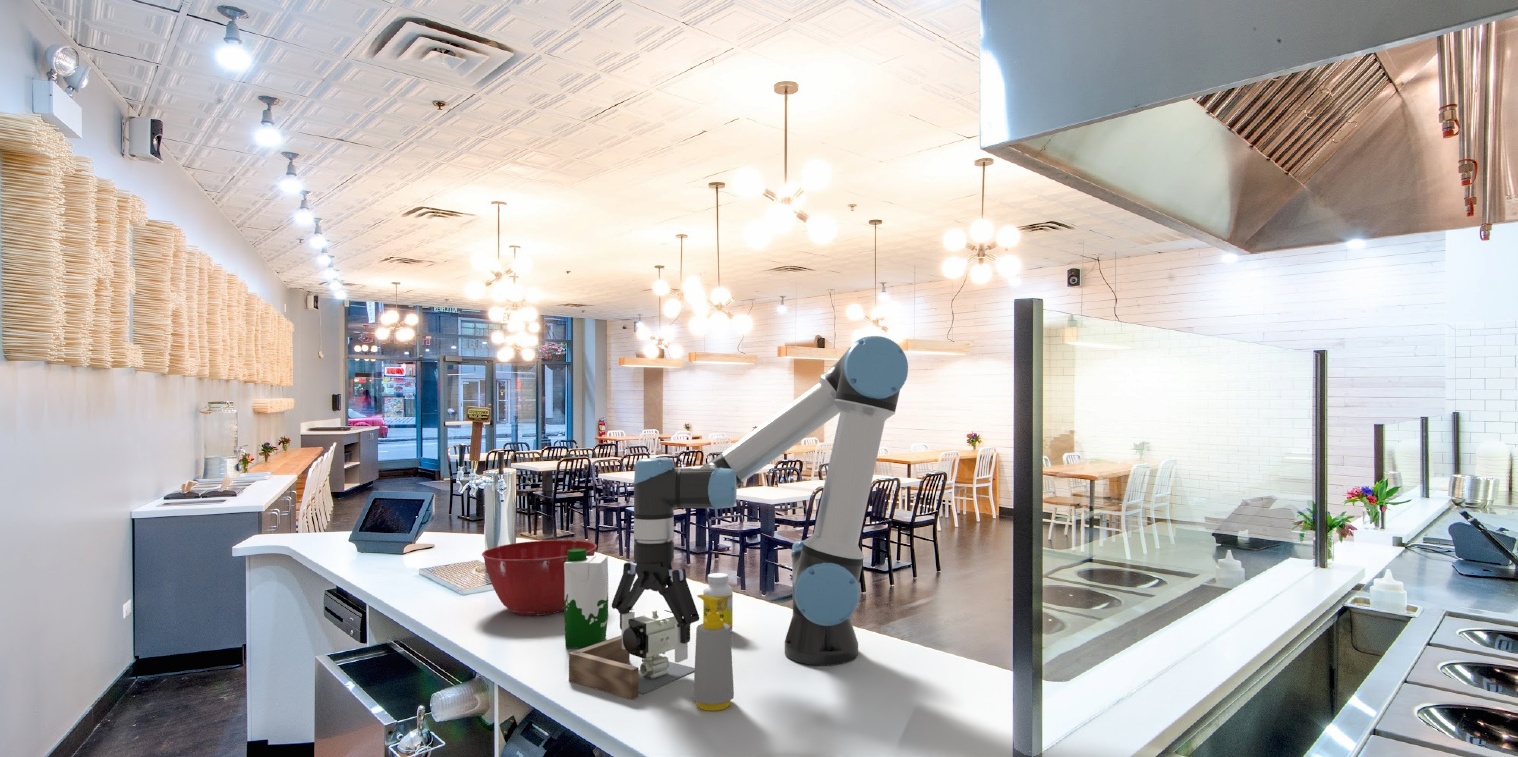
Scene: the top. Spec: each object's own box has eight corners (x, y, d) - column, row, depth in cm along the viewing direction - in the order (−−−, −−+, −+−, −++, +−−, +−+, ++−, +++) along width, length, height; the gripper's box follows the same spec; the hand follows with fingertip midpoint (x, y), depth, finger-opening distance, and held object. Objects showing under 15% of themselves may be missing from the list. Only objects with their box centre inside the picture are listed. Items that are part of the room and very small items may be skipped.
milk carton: (570, 636, 161) (571, 546, 162) (611, 636, 161) (611, 545, 162) (559, 649, 152) (560, 553, 154) (602, 649, 153) (603, 553, 154)
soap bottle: (712, 693, 128) (711, 590, 129) (742, 702, 123) (741, 596, 124) (684, 705, 122) (684, 597, 123) (714, 715, 118) (714, 604, 119)
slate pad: (697, 669, 140) (697, 668, 140) (643, 694, 127) (643, 693, 127) (663, 660, 145) (663, 659, 145) (607, 683, 132) (607, 682, 132)
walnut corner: (685, 675, 137) (685, 648, 137) (631, 699, 125) (631, 669, 125) (623, 659, 146) (623, 634, 146) (568, 680, 134) (568, 652, 135)
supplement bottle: (698, 634, 162) (697, 576, 163) (711, 626, 168) (710, 570, 169) (725, 637, 160) (724, 578, 160) (737, 629, 166) (737, 572, 167)
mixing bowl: (455, 619, 176) (456, 555, 177) (525, 592, 204) (526, 536, 204) (557, 628, 168) (557, 561, 169) (616, 598, 195) (616, 541, 196)
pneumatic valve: (621, 680, 133) (621, 614, 134) (670, 664, 142) (670, 602, 142) (639, 688, 130) (640, 620, 130) (689, 671, 138) (689, 607, 139)
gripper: (717, 542, 133) (718, 660, 132) (621, 531, 148) (621, 637, 146) (691, 549, 127) (691, 672, 126) (593, 536, 141) (593, 647, 140)
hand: (653, 653), depth 136 cm, fingers open, 13 cm apart
